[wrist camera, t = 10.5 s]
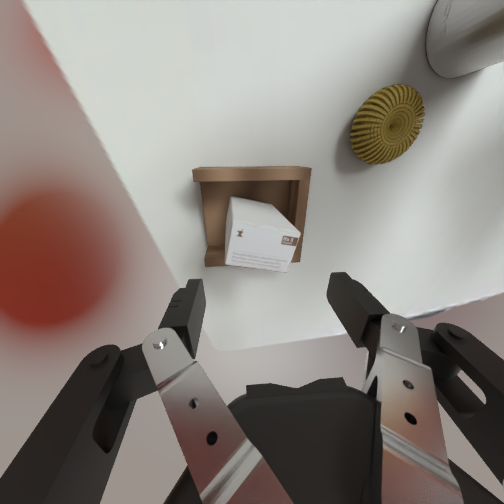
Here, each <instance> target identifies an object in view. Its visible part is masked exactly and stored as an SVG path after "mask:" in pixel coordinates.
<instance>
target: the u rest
mask: <svg viewBox="0 0 504 504" xmlns="http://www.w3.org/2000/svg"><path fill="white" fill-rule="evenodd" d="M192 172H193V179H194V182H200V185H201V193H202V201H203V210H204V218H205V226H206V234H207V242H208V248H207V251H206V255H205V258H204V260H205V267H211V266H231V265H226V264H225V239H226V219H227V213H228V207H229V201H230V196H236V197H240V198H245V199H250V200H254V201H259V202H264V203H268V204H272V205H273V206H274V207H275V208H276V209H277V210H278V211H279V212H280V213H281V214H282V215H283V216H284V217H285V218H286V219H287V220H288V221H289V222H290V223H291V224H292V225H293V226H294V227H295V228H296V229H297V230H298V231H299V232H300V233H301V235H300V237H299V240H298V243H297V246H296V249H295V252H294V254H293V257H292V260H291V262H300V257H301V249H302V241H303V233H304V225H305V217H306V209H307V200H308V192H309V184H310V176H311V168H307V167H300V166H265V167H199V168H196V169H193V170H192Z"/></svg>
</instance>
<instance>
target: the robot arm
mask: <svg viewBox="0 0 504 504" xmlns="http://www.w3.org/2000/svg"><path fill="white" fill-rule="evenodd" d="M426 49H427V57H428V60H429V63H430V65H431V67H432V69H433V70H434V71H435V72H436V73H437V74H438V75H440V76H442V77H445V78H455V77H459V76H463V75H465V74H468V73H471V72H474V71H477V70H480V69H482V68H485V67H488V66H491V65H494V64H497V63H500V62H503V61H504V0H438V2H437V4H436V6H435V8H434V10H433V13H432V16H431V19H430V22H429V27H428V31H427V40H426ZM327 299H328V302H329V304H330V305H331V307H332V308H333V310H334V312H335V313H336V315H337V316H338V318H339V320H340V321H341V323H342V324H343V326H344V328H345V329H346V331H347V332H348V334H349V336H350V337H351V339H352V340H353V342H354V343H355V345H356V347H357V348H360V347H366V348H367V349H368V352H367V355H366V363H365V371H364V379H363V386H362V390H361V391H360V390H357V389H355V388H352V387H349V386H347V385H346V383H345V381H344V379H343V378H342V377H340V378H328V379H319V380H316V381H314V382H312V383H309V384H307V385H304V386H302V387H300V388H292V387H287V386H282V385H277V384H272V383H269V384H256V385H247V386H246V391H247V393H246V394H244V395H241V396H240V397H238V398H236V399H235V400H233V401H232V402H231V403H230V404H229V405H228V406H226V404H225V403H224V401H223V399H222V398H221V396H220V395H219V393H218V392H217V390H216V389H215V387H214V386H213V384H212V382H211V381H210V379H209V378H208V376H207V375H206V373H205V372H204V370H203V369H202V367H201V365H200V364H199V363H198V362H197V361H195V362H194V360H193V359H195V356H196V351H197V347H198V342H199V337H200V332H201V327H202V322H203V317H204V313H205V307H206V299H205V293H204V286H203V281H202V279H189V280H188V282H187V285H186V288H180V289H179V290H178V291H177V292H175V293H174V295H173V297H172V299H171V302H170V303H169V306H168V308H167V310H166V312H165V315H164V317H163V319H162V321H161V323H160V325H159V328H158V330H156V331H154V332H152V333H151V334H149V335H148V336H147V338H146V339H145V340H144V342H143V343H142V344H140V345H137V346H134V347H131V348H128V349H125V350H122V351H121V350H120V349H119V347H118V346H116V345H105V346H102V347H100V348H97V349H95V350H94V351H92V352H91V353H89V354H88V355H87V356H86V357H85V358H84V359H83V360H82V361H81V362H80V364H79V365H78V367H77V368H76V370H75V371H74V373H73V374H72V375H71V377H70V378H69V380H68V381H67V383H66V384H65V386H64V387H63V389H62V390H61V391H60V393H59V394H58V396H57V397H56V399H55V400H54V402H53V403H52V404H51V406H50V407H49V409H48V410H47V412H46V413H45V415H44V416H43V418H42V419H41V420H40V422H39V423H38V425H37V426H36V428H35V429H34V431H33V432H32V433H31V435H30V436H29V438H28V439H27V441H26V442H25V444H24V445H23V446H22V448H21V449H20V451H19V452H18V454H17V455H16V457H15V458H14V459H13V461H12V463H11V464H10V465H9V467H8V468H7V470H6V471H5V473H4V474H3V475H2V477H1V478H0V504H100V501H101V499H102V496H103V493H104V490H105V487H106V485H107V482H108V479H109V476H110V473H111V470H112V467H113V465H114V462H115V459H116V456H117V454H118V451H119V448H120V445H121V442H122V439H123V437H124V434H125V431H126V428H127V425H128V423H129V419H130V417H131V414H132V411H133V409H134V405H135V403H136V400H137V399H138V398H141V397H143V396H145V395H148V394H150V393H153V392H155V391H157V390H158V391H159V394H160V397H161V399H162V402H163V404H164V407H165V409H166V412H167V414H168V417H169V420H170V422H171V424H172V426H173V429H174V432H175V435H176V437H177V440H178V442H179V445H180V447H181V450H182V452H183V455H184V457H185V460H186V462H187V467H186V469H185V470H184V472H183V474H182V475H181V477H180V478H179V480H178V481H177V483H176V484H175V486H174V488H173V489H172V491H171V492H170V494H169V496H168V497H167V499H166V500H165V502H164V504H504V503H503V502H502V501H501V500H499V499H498V498H497V497H496V496H494V495H493V494H492V493H491V492H489V491H488V490H487V489H486V488H484V487H483V486H482V485H481V484H479V483H478V482H477V481H476V480H475V479H473V478H472V477H471V476H470V475H468V474H467V473H466V472H465V471H463V470H462V469H461V468H460V467H458V466H457V465H456V464H455V463H453V462H452V461H451V460H450V459H449V458H448V457H447V451H446V446H445V440H444V435H443V429H442V424H441V418H440V413H439V407H438V402H439V403H440V404H441V406H442V407H443V408H444V410H445V411H446V412H447V413H448V415H449V416H450V417H451V419H452V420H453V421H454V423H455V424H456V425H457V426H458V428H459V429H460V430H461V432H462V433H463V434H464V436H465V437H466V438H467V440H468V441H469V442H470V444H471V445H472V446H473V448H474V449H475V450H476V451H477V453H478V454H479V455H480V457H481V458H482V459H483V461H484V462H485V463H486V465H487V466H488V467H489V468H490V470H491V471H492V472H493V474H494V475H495V476H496V478H497V479H498V480H499V482H500V483H501V484H502V486H503V489H504V360H503V359H502V358H500V357H499V356H498V355H497V354H495V353H494V352H493V351H492V350H490V349H489V348H488V347H487V346H485V345H484V344H483V343H482V342H481V341H479V340H478V339H477V338H476V337H474V336H473V335H472V334H471V333H469V332H468V331H466V330H464V329H462V328H460V327H458V326H455V325H453V324H449V323H439V324H437V325H436V327H435V329H434V330H430V329H424V328H418V327H416V326H415V325H414V324H413V323H412V322H410V321H409V320H408V319H406V318H404V317H402V316H399V315H396V314H390V313H389V311H388V310H387V309H386V308H385V307H384V306H383V305H382V304H381V303H380V302H379V301H378V300H377V299H376V298H375V297H374V296H373V295H372V294H371V293H370V292H368V290H367V289H366V288H365V287H364V286H363V285H362V284H361V283H359V282H357V281H356V280H352V279H351V278H350V276H349V275H348V274H347V273H346V272H334V273H331V275H330V280H329V284H328V289H327ZM461 369H462V370H463V371H464V372H465V373H466V374H467V375H468V376H469V377H470V378H471V379H472V380H473V381H474V382H475V383H476V384H477V386H479V388H481V390H482V391H483V393H484V394H485V397H486V404H484V403H483V402H482V401H481V400H480V399H479V398H478V397H477V396H476V395H475V394H474V393H473V392H472V391H471V390H470V389H469V387H468V386H467V385H466V384H465V383H464V382H463V381H462V380H461V379H460V378H459V377H458V376H457V374H458V373H459V371H460V370H461ZM437 400H438V402H437Z"/></svg>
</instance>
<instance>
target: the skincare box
mask: <svg viewBox="0 0 504 504" xmlns="http://www.w3.org/2000/svg"><path fill="white" fill-rule="evenodd" d="M300 235H301V233H300V232H299V231H298V230H297V229H296V228H295V227H294V226H293V225H292V224H291V223H290V222H289V221H288V220H287V219H286V218H285V217H284V216H283V215H282V214H281V213H280V212H279V211H278V210H277V209H276V208H275V207H274V206H273V205H272V204H268V203H264V202H259V201H254V200H250V199H245V198H240V197H236V196H230V201H229V207H228V213H227V219H226V239H225V264H226V265H232V266H240V267H248V268H256V269H264V270H271V271H279V272H286V273H287V272H288V269H289V266H290V263H291V260H292V257H293V254H294V252H295V249H296V246H297V243H298V240H299V237H300Z"/></svg>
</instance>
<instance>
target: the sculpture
mask: <svg viewBox="0 0 504 504" xmlns="http://www.w3.org/2000/svg"><path fill="white" fill-rule="evenodd" d="M423 104H424V103H423V100H422V98H421V96H420V95H419V93H418V92H417V91H416V90H415V89H414V88H412V87H410V86H407V85H401V84H398V85H391V86H388V87H385V88H383V89H381V90H379V91H377V92H376V93H375V94H373V95H372V96H370V97H369V99H368V100H366V101H365V102H364V103H363V105H362V107H360V109H359V111H358V113H357V114H356V116H355V120H354V121H353V123H352V124H353V125H354V126H352V127H351V130H352V131H353V130H354V131H359V132H354V133H350V136H354V135H357V136H355V137H353V138H351V139H350V140H351V142H353V143H352V144H351V146H352V148H353V151H354V152H355V154H356V156H357V157H358V158H360V160H363V161H364V162H367V163H369V164H381V163H382V164H383V163H386V162H390V161H392V160H394V159H396V158H397V157H399V156H400V155H402V154H403V153H404V152H405V151H407V150H408V148H409V147H410V146H411V145H412V144H413V142H414V141H415V140H416V138H417V135H418V134H419V133H420V130H419V129H421V128H422V125H421V124H416V123H421V122H423V121H424V119H420V120H416V119H419V118H422V117H423V116H424V112H423V111H424V106H423ZM417 111H418V112H417ZM421 112H422V113H421ZM370 117H371V118H370ZM414 120H415V121H414ZM359 123H360V124H361V125H360V124H359ZM359 134H360V135H359ZM357 142H358V143H357ZM356 143H357V144H356ZM362 145H363V146H362ZM357 147H358V148H357ZM356 148H357V149H356ZM375 154H376V155H375Z"/></svg>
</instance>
